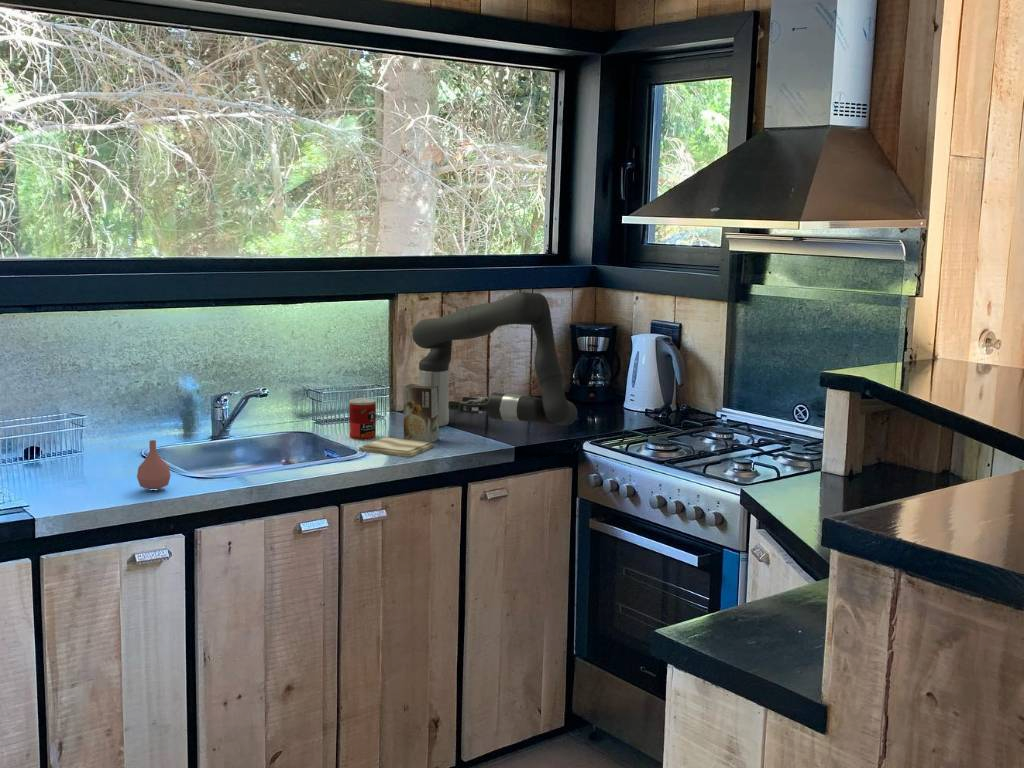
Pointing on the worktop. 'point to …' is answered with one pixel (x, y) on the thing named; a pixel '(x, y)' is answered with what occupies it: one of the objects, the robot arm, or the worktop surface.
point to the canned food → (362, 418)
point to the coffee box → (421, 412)
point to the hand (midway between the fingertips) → (455, 402)
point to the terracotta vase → (153, 470)
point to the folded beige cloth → (396, 447)
